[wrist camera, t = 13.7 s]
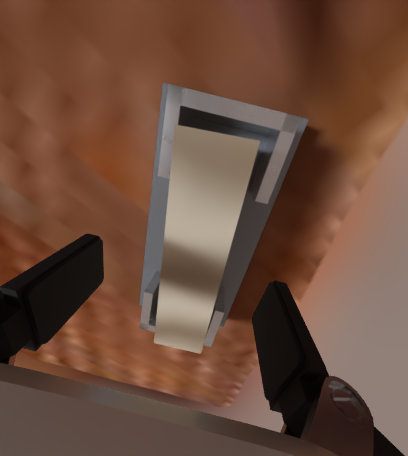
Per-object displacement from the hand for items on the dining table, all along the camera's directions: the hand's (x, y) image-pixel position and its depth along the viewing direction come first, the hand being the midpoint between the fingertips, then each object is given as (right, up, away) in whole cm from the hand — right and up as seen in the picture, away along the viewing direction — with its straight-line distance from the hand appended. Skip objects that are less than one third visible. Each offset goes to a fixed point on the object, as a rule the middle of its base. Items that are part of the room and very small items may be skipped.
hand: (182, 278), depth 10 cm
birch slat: (+1, +2, +6) cm, 7 cm away
